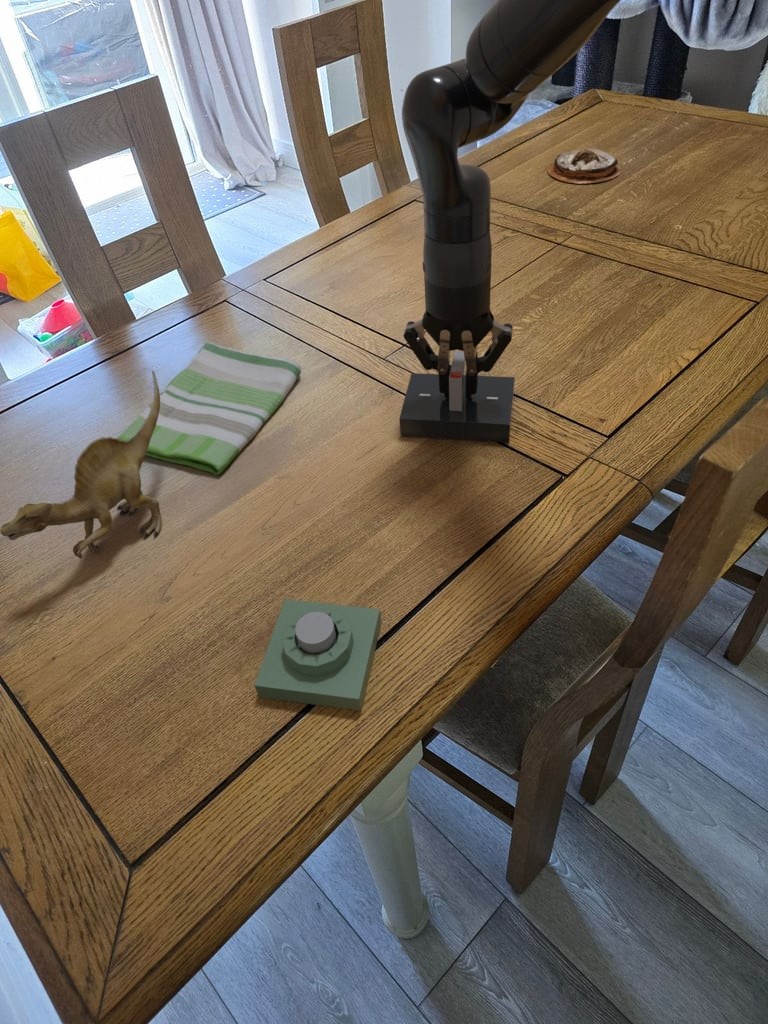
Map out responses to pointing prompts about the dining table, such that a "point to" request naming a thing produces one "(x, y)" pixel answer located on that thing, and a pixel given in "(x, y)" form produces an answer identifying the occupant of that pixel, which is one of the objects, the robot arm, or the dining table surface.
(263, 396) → the dish towel
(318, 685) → the button block
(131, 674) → the dining table surface
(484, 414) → the lever base
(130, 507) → the dinosaur figurine
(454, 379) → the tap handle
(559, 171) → the powdered cake
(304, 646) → the button
